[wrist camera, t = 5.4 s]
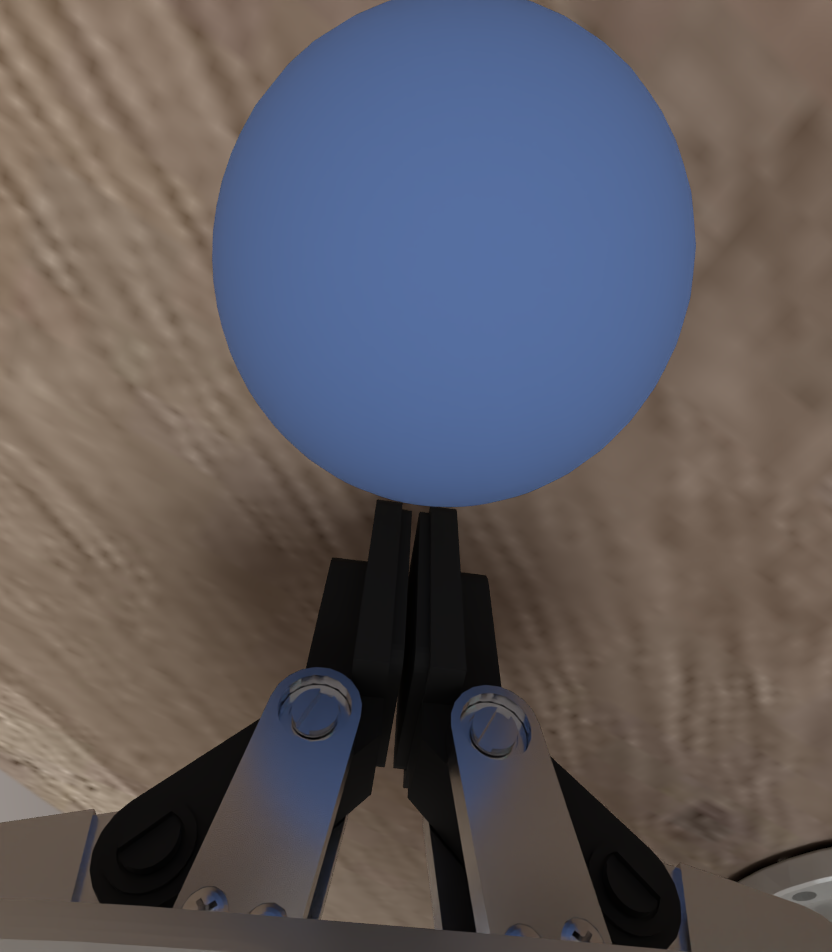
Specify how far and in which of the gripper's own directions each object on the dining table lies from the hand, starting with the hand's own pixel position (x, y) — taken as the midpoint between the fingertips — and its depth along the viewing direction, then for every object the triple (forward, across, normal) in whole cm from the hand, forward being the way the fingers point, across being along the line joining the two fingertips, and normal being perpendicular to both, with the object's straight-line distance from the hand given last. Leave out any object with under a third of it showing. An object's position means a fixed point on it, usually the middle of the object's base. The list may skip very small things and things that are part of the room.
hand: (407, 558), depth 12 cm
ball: (-1, 0, -6) cm, 6 cm away
